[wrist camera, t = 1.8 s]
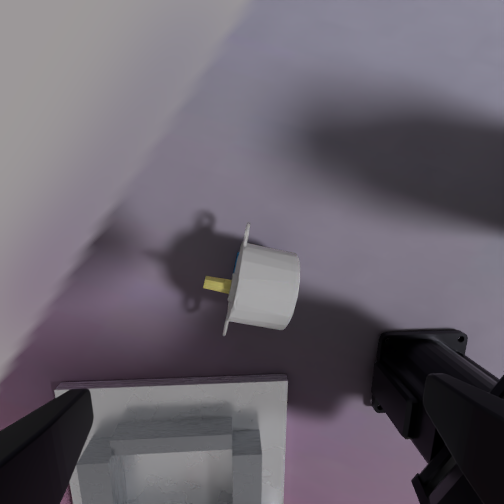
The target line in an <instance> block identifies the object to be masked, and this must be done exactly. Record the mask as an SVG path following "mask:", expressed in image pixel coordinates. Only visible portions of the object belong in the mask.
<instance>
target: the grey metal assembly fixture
mask: <svg viewBox="0 0 504 504" xmlns="http://www.w3.org/2000/svg"><path fill="white" fill-rule="evenodd" d="M78 388H87V389H89V391H90V393H91V400H92V407H93V414H94V419H93V424H92V427H91V430H90V432H89V435H88V437H87V440H86V442H85V445H84V447H83V450H82V452H81V455H80V457H79V459H78V462H77V464H76V467H75V469H74V472H73V474H72V477H71V479H70V488H71V494H72V500H73V504H283V497H284V470H285V444H286V418H287V391H288V380H287V376H286V374H267V375H241V376H214V377H187V378H160V379H134V380H107V381H80V382H61V383H60V384H59V385H58V386H57V388H56V389H55V390H54V392H55V398H57V397H58V396H60V395H62V394H63V393H65V392H67V391H68V390H70V389H78Z"/></svg>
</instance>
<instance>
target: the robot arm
mask: <svg viewBox="0 0 504 504" xmlns="http://www.w3.org/2000/svg"><path fill="white" fill-rule="evenodd" d="M459 337H460V338H459ZM388 338H389V340H388V341H387V342H385V340H386V339H388ZM458 338H459V339H458ZM467 339H468V338H467V335H466V334H465V333H463V332H461V331H458V330H455V331H419V332H386V333H383V334H381V335H380V337H379V342H378V351H377V360H376V362H375V364H374V373H373V382H372V394H373V395H372V407H373V408H374V410H375V411H376V412H377V413H386V414H387V415H388V417H389V418H390V420H391V421H392V423H393V424H394V425H395V427H396V428H397V430H398V431H399V433H400V434H401V435H402V436H403V437H404V438H405V439H411V441H412V442H413V443H414V445H415V446H416V448H417V449H418V450H419V452H420V453H421V455H422V456H423V457H424V459H425V460H426V462H427V463H428V465H427V466H426V467H425V468H424V469H423V471H422V472H421V473H420V474H418V473H417V474H416V475H415V477H414V478H413V479H412V480H411V481H412V484H413V487H414V489H415V492H416V494H417V497H418V499H419V502H420V504H504V375H503V376H502V377H501V379H498V378H497V377H495V376H494V375H492V374H491V373H490V372H488V371H487V370H485V369H484V368H482V367H481V366H480V365H478V364H477V363H475V362H474V361H473V360H471V359H470V358H468V357H467V356H465V350H466V345H467ZM378 405H380V406H378ZM93 419H94V414H93V407H92V400H91V393H90V391H89V389H87V388H78V389H70V390H68V391H67V392H65V393H63V394H62V395H60V396H58V397H57V398H55V399H53V400H52V401H50V402H48V403H47V404H45V405H43V406H42V407H40V408H38V409H37V410H35V411H33V412H31V413H30V414H28V415H26V416H25V417H23V418H21V419H20V420H18V421H16V422H15V423H13V424H11V425H10V426H8V427H6V428H5V429H3V430H1V431H0V504H60V502H61V500H62V498H63V496H64V493H65V491H66V489H67V486H68V484H69V482H70V479H71V477H72V474H73V472H74V469H75V467H76V464H77V462H78V459H79V457H80V455H81V452H82V450H83V447H84V445H85V442H86V440H87V437H88V435H89V432H90V430H91V427H92V424H93Z"/></svg>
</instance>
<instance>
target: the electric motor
mask: <svg viewBox="0 0 504 504" xmlns="http://www.w3.org/2000/svg"><path fill="white" fill-rule="evenodd" d="M249 229H250V223H247V226H246V230H245V235H244V240H243V242H242V244H241V247H240V252H238V253H237V257H236V262H235V266H234V271H233V274H232V278H231V280H229V279H223V278H216V277H209V276H206V278H205V281H204V286H203V288H206V289H210V290H214V291H219V292H223V293H227V294H228V298H227V300H228V301H229V302H228V313H227V316H226V320H225V324H224V330H223V336H225V335H226V332H227V327H228V323H229V321H231V322H237V323H242V324H248V325H254V326H260V327H265V328H271V329H277V330H283V329H285V328H286V326H287V325H288V323H289V322H290V320H291V317H292V315H293V312H294V309H295V305H296V301H297V297H298V290H299V283H300V263H299V258H298V256H297V255H296V253H292V252H287V251H282V250H277V249H273V248H268V247H263V246H259V245H254V244H249V243H247V240H248V235H249Z"/></svg>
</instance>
